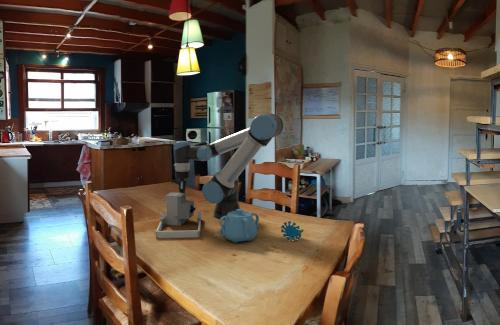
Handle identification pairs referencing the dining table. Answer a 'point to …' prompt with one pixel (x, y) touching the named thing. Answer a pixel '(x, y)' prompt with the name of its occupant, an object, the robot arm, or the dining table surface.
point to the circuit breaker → (178, 208)
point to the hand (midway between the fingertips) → (182, 214)
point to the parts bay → (177, 233)
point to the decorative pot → (239, 226)
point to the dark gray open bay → (166, 219)
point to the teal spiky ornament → (291, 231)
